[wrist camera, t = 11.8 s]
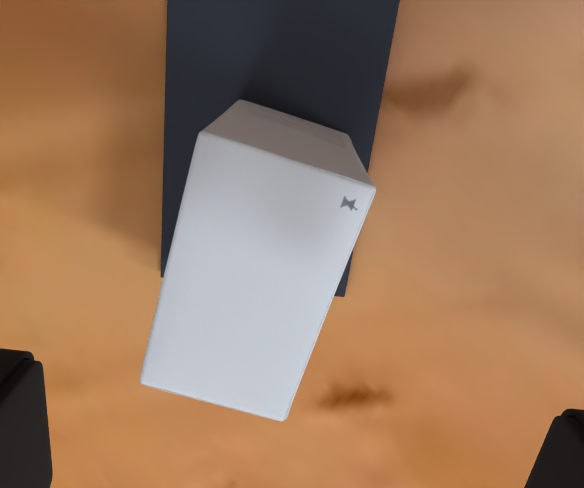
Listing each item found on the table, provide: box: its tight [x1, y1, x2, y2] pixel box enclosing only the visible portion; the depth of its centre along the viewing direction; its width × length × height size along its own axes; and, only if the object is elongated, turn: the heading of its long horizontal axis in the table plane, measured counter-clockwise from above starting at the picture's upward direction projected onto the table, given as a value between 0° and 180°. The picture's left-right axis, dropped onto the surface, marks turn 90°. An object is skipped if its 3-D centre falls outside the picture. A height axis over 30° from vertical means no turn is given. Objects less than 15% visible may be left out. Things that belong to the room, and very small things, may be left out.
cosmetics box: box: [140, 100, 376, 421], centre depth 22 cm, size 10×6×10 cm, turn 162°
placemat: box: [161, 0, 399, 297], centre depth 24 cm, size 27×11×1 cm, turn 173°
